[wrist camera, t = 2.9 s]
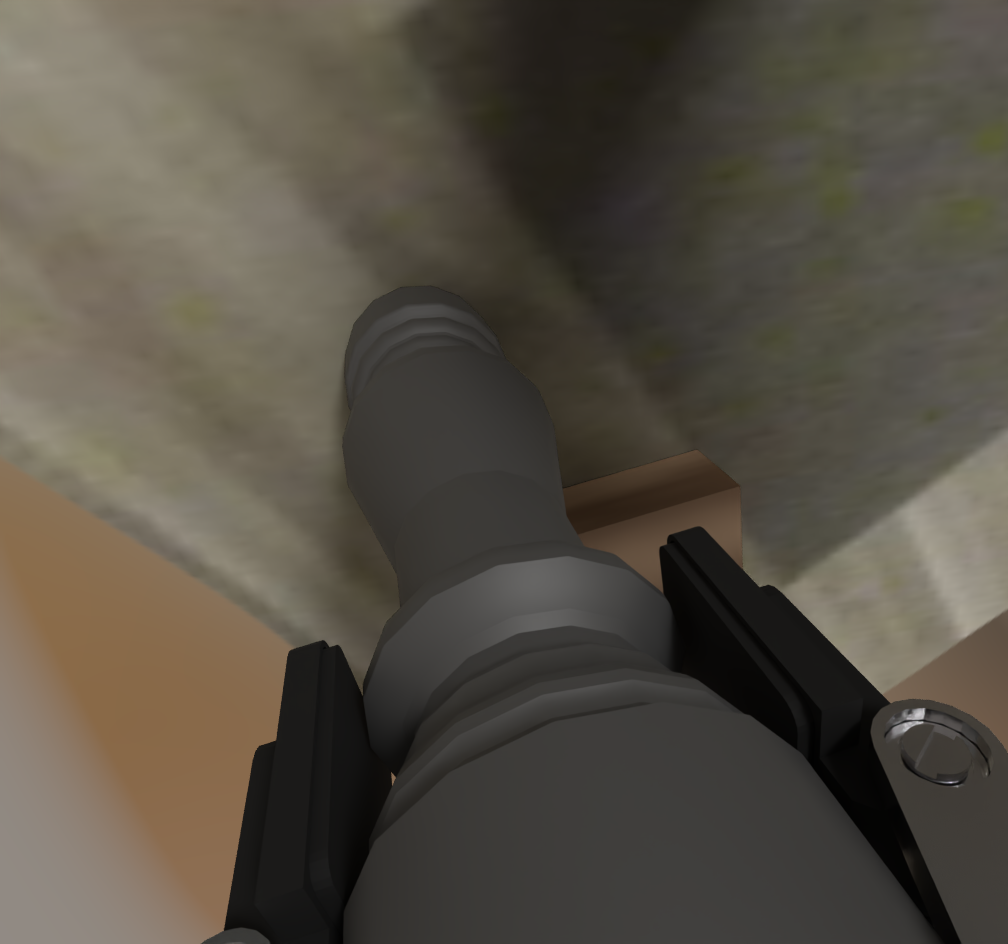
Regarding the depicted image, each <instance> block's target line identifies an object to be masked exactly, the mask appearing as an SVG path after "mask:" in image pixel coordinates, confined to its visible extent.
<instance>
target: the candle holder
mask: <svg viewBox="0 0 1008 944" xmlns="http://www.w3.org/2000/svg"><path fill="white" fill-rule="evenodd" d="M345 383H346V390H347V398H348V406H349V408H350V410H351V413H350V416H349V419H348V422H347V426H346V429H345V432H344V435H343V444H342V447H343V454H344V461H345V468H346V476H347V483H348V486H349V488H350V490H351V492H352V493H353V495H354V497H355V499H356V501H357V502H358V504H359V506H360V508H361V509H362V511H363V513H364V515H365V516H366V518H367V520H368V522H369V524H370V526H371V528H372V529H373V531H374V533H375V535H376V537H377V539H378V541H379V542H380V544H381V546H382V548H383V550H384V552H385V554H386V555H387V557H388V559H389V561H390V563H391V565H392V566H393V568H394V570H395V572H396V574H397V578H398V588H399V598H400V609H399V610H398V611H397V612H396V613H395V614H394V615H393V616H392V617H391V618H390V619H389V620H388V621H387V622H386V624H385V626H384V629H383V632H382V634H381V637H380V639H379V642H378V645H377V647H376V650H375V653H374V655H373V658H372V660H371V663H370V666H369V668H368V671H367V674H366V676H365V679H364V683H363V701H364V708H365V714H366V721H367V727H368V734H369V740H370V747H371V748H372V750H373V751H374V752H375V753H376V754H377V756H378V757H379V758H380V759H381V760H382V761H383V763H384V764H385V765H386V766H387V767H388V769H389V770H390V771H391V772H392V773H393V774H394V776H395V777H396V779H395V781H394V784H393V786H392V788H391V790H390V792H389V795H388V797H387V799H386V802H385V804H384V806H383V809H382V811H381V813H380V815H379V818H378V820H377V822H376V825H375V827H374V829H373V832H372V834H371V836H370V838H369V855H368V857H367V860H366V862H365V864H364V867H363V869H362V871H361V873H360V876H359V878H358V880H357V882H356V885H355V887H354V889H353V892H352V894H351V896H350V898H349V901H348V903H347V905H346V907H345V910H344V926H343V944H945V943H944V942H943V941H942V939H941V938H940V937H939V935H938V934H937V933H936V931H935V930H934V929H933V927H932V926H931V925H930V923H929V922H928V921H927V919H926V918H925V917H924V915H923V914H922V913H921V911H920V910H919V909H918V907H917V906H916V905H915V903H914V902H913V901H912V899H911V898H910V897H909V895H908V894H907V893H906V891H905V890H904V889H903V887H902V886H901V885H900V883H899V882H898V881H897V879H896V878H895V877H894V875H893V874H892V873H891V871H890V870H889V869H888V868H887V866H886V865H885V864H884V862H883V861H882V860H881V858H880V857H879V856H878V854H877V853H876V852H875V850H874V849H873V848H872V846H871V845H870V844H869V842H868V841H867V840H866V838H865V837H864V836H863V834H862V833H861V832H860V830H859V829H858V828H857V826H856V825H855V824H854V822H853V821H852V820H851V818H850V817H849V816H848V814H847V813H846V812H845V810H844V809H843V808H842V806H841V805H840V804H839V802H838V801H837V800H836V798H835V797H834V796H833V794H832V793H831V792H830V790H829V789H828V788H827V786H826V785H825V784H824V782H823V781H822V780H821V778H820V777H819V776H818V774H817V773H816V772H815V770H814V769H813V768H812V766H811V765H810V764H809V762H808V761H807V760H806V758H805V757H804V756H803V754H802V753H800V752H799V751H798V750H796V749H795V748H794V747H792V746H791V745H790V744H788V743H787V742H786V741H784V740H783V739H781V738H780V737H779V736H777V735H776V734H775V733H773V732H772V731H771V730H769V729H768V728H767V727H765V726H764V725H762V724H761V723H760V722H758V721H757V720H756V719H754V718H753V717H752V716H750V715H746V714H744V713H742V712H741V711H739V710H738V709H737V708H735V707H734V706H733V705H731V704H730V703H729V702H727V701H726V700H724V699H723V698H722V697H720V696H719V695H718V694H716V693H715V692H714V691H712V690H711V689H709V688H708V687H707V686H705V685H704V684H703V683H701V682H700V681H699V680H697V679H694V678H692V677H690V676H688V675H685V674H681V672H682V665H683V659H684V652H685V643H684V641H683V638H682V635H681V633H680V630H679V627H678V625H677V622H676V619H675V617H674V614H673V611H672V609H671V606H670V603H669V602H668V600H667V599H666V597H665V596H664V595H663V593H662V592H661V591H660V590H659V589H658V588H657V587H655V586H654V585H653V584H652V583H650V582H649V581H648V580H647V579H645V578H644V577H643V576H642V575H640V574H639V573H638V572H637V571H635V570H634V569H633V568H632V567H631V566H629V565H628V564H627V563H626V562H624V561H623V560H622V559H621V558H619V557H618V556H617V555H615V554H613V553H610V552H605V551H601V550H597V549H593V548H589V547H585V546H584V545H583V543H582V541H581V540H580V538H579V536H578V535H577V533H576V531H575V530H574V528H573V526H572V524H571V523H570V521H569V519H568V518H567V515H566V508H565V502H564V495H563V488H562V481H561V474H560V467H559V460H558V452H557V444H556V437H555V429H554V425H553V423H552V420H551V418H550V415H549V413H548V411H547V408H546V406H545V404H544V401H543V399H542V397H541V394H540V392H539V390H538V389H537V388H536V387H535V385H534V384H533V383H532V382H530V381H529V380H528V379H527V378H526V377H525V376H524V375H523V374H522V373H521V372H520V371H518V370H517V369H516V368H515V367H514V366H513V365H512V364H511V363H510V362H509V361H507V360H506V357H505V355H504V353H503V351H502V348H501V346H500V344H499V341H498V339H497V337H496V335H495V333H494V332H493V331H492V330H491V329H490V327H489V326H488V325H487V324H486V322H485V321H484V320H483V319H482V317H481V316H480V315H479V314H478V313H477V312H476V311H475V310H474V309H472V308H471V307H470V306H469V305H468V304H467V303H466V302H465V301H464V300H463V299H462V298H461V297H460V296H457V295H455V294H452V293H449V292H447V291H444V290H441V289H438V288H436V287H433V286H418V287H400V288H398V289H396V290H394V291H392V292H390V293H388V294H386V295H384V296H382V297H380V298H378V299H376V300H374V301H373V302H372V303H371V304H370V305H369V306H368V308H367V309H366V310H365V311H364V312H363V314H362V315H361V316H360V317H359V318H358V319H357V321H356V322H355V323H354V325H353V329H352V332H351V335H350V339H349V342H348V345H347V349H346V355H345Z"/></svg>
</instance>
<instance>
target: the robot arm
mask: <svg viewBox="0 0 1008 944" xmlns="http://www.w3.org/2000/svg"><path fill="white" fill-rule="evenodd" d="M659 557H660V566H661V575H662V585H663V594H664V596H665V597H666V599H667V600H668V602H669V603H670V606H671V609H672V611H673V614H674V617H675V619H676V622H677V625H678V627H679V630H680V633H681V635H682V638H683V641H684V643H685V652H684V659H683V665H682V672H681V674H685V675H688V676H690V677H692V678H694V679H697V680H699V681H700V682H701V683H703V684H704V685H705V686H707V687H708V688H709V689H711V690H712V691H714V692H715V693H716V694H718V695H719V696H720V697H722V698H723V699H724V700H726V701H727V702H729V703H730V704H731V705H733V706H734V707H735V708H737V709H738V710H739V711H741V712H742V713H744V714H746V715H750V716H752V717H753V718H754V719H756V720H757V721H758V722H760V723H761V724H762V725H764V726H765V727H767V728H768V729H769V730H771V731H772V732H773V733H775V734H776V735H777V736H779V737H780V738H781V739H783V740H784V741H786V742H787V743H788V744H790V745H791V746H792V747H794V748H795V749H796V750H798V751H799V752H800V753H802V754H803V756H804V757H805V758H806V760H807V761H808V762H809V764H810V765H811V766H812V768H813V769H814V770H815V772H816V773H817V774H818V776H819V777H820V778H821V780H822V781H823V782H824V784H825V785H826V786H827V788H828V789H829V790H830V792H831V793H832V794H833V796H834V797H835V798H836V800H837V801H838V802H839V804H840V805H841V806H842V808H843V809H844V810H845V812H846V813H847V814H848V816H849V817H850V818H851V820H852V821H853V822H854V824H855V825H856V826H857V828H858V829H859V830H860V832H861V833H862V834H863V836H864V837H865V838H866V840H867V841H868V842H869V844H870V845H871V846H872V848H873V849H874V850H875V852H876V853H877V854H878V856H879V857H880V858H881V860H882V861H883V862H884V864H885V865H886V866H887V868H888V869H889V870H890V871H891V873H892V874H893V875H894V877H895V878H896V879H897V881H898V882H899V883H900V885H901V886H902V887H903V889H904V890H905V891H906V893H907V894H908V895H909V897H910V898H911V899H912V901H913V902H914V903H915V905H916V906H917V907H918V909H919V910H920V911H921V913H922V914H923V915H924V917H925V918H926V919H927V921H928V922H929V923H930V925H931V926H932V927H933V929H934V930H935V931H936V933H937V934H938V935H939V937H940V938H941V939H942V941H943V942H944V943H945V944H1008V753H1007V751H1006V749H1005V748H1004V746H1003V745H1002V743H1000V741H999V740H998V739H997V737H996V736H995V735H994V734H993V733H992V732H991V731H990V729H989V728H988V727H986V726H985V725H983V724H982V723H981V722H979V721H978V720H977V719H975V718H974V717H973V716H971V715H970V714H967V713H965V712H963V711H961V710H959V709H957V708H955V707H953V706H950V705H947V704H943V703H939V702H935V701H932V700H921V699H908V700H902V701H896V702H893V703H890V702H889V701H888V700H887V699H886V698H885V697H884V696H883V695H882V694H881V693H880V692H879V691H878V690H877V689H876V688H875V687H874V686H873V685H872V684H871V683H870V682H869V681H868V680H867V679H866V678H865V677H864V676H863V675H862V674H861V673H860V672H859V671H858V670H857V669H856V668H855V667H854V666H853V665H852V664H851V663H850V662H849V661H848V660H847V659H846V658H845V657H844V656H843V655H842V654H841V653H840V652H839V651H838V650H837V648H836V647H835V646H834V645H833V644H832V643H831V642H830V641H829V640H828V639H827V638H826V637H825V636H824V635H823V634H822V633H821V632H820V631H819V630H818V629H817V628H816V627H815V626H814V625H813V624H812V623H811V622H810V621H809V620H808V619H807V618H806V617H805V616H804V615H803V614H802V613H801V612H800V611H799V610H798V609H797V608H796V607H795V606H794V605H793V604H792V603H791V602H790V601H789V600H788V599H787V598H786V597H785V596H784V595H783V594H782V593H781V592H780V591H779V590H778V589H776V588H775V587H773V586H770V585H766V586H763V587H759V586H758V585H757V584H756V583H755V582H754V581H753V580H752V579H751V578H750V577H749V576H748V575H747V574H746V573H745V571H744V570H743V569H742V568H741V567H740V566H739V565H738V564H737V563H736V562H735V561H734V560H733V559H732V558H731V557H730V556H729V555H728V553H727V552H726V551H725V550H724V549H723V548H722V547H721V546H720V545H719V544H718V543H717V542H716V541H715V540H714V539H713V538H712V537H711V535H710V534H709V533H708V532H707V531H706V530H705V529H704V528H702V527H701V526H697V527H693V528H690V529H687V530H683V531H680V532H677V533H674V534H670V535H669V536H668V538H667V544H666V545H663V546H661V547H660V548H659ZM391 788H392V778H391V771H390V770H389V769H388V767H387V766H386V765H385V764H384V763H383V761H382V760H381V759H380V758H379V757H378V756H377V754H376V753H375V752H374V751H373V750H372V748H371V747H370V740H369V734H368V727H367V721H366V714H365V708H364V701H363V696H362V694H361V691H360V689H359V687H358V685H357V682H356V680H355V678H354V676H353V674H352V671H351V669H350V667H349V665H348V662H347V660H346V658H345V656H344V653H343V651H342V649H341V647H340V646H339V645H336V646H332V647H329V646H328V644H327V643H326V642H325V641H324V640H322V641H319V642H315V643H312V644H309V645H305V646H302V647H299V648H296V649H292V650H290V651H289V653H288V657H287V664H286V672H285V679H284V686H283V694H282V701H281V709H280V716H279V723H278V731H277V739H276V741H274V742H270V743H268V744H264V745H261V746H259V747H258V748H257V750H256V752H255V755H254V758H253V763H252V768H251V775H250V781H249V786H248V792H247V798H246V803H245V810H244V815H243V821H242V827H241V834H240V839H239V845H238V851H237V857H236V862H235V868H234V874H233V881H232V886H231V892H230V898H229V904H228V910H227V916H226V922H225V928H224V931H222V932H220V933H219V934H217V935H215V936H213V937H211V938H209V939H207V940H205V941H204V942H203V943H201V944H343V926H344V910H345V907H346V905H347V903H348V901H349V898H350V896H351V894H352V892H353V889H354V887H355V885H356V882H357V880H358V878H359V876H360V873H361V871H362V869H363V867H364V864H365V862H366V860H367V857H368V855H369V838H370V836H371V834H372V832H373V829H374V827H375V825H376V822H377V820H378V818H379V815H380V813H381V811H382V809H383V806H384V804H385V802H386V799H387V797H388V795H389V792H390V790H391Z"/></svg>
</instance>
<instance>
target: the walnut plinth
mask: <svg viewBox="0 0 1008 944" xmlns="http://www.w3.org/2000/svg"><path fill="white" fill-rule="evenodd" d="M563 495H564V502H565V508H566V515H567V518H568V519H569V521H570V523H571V524H572V526H573V528H574V530H575V531H576V533H577V535H578V536H579V538H580V540H581V541H582V543H583V545H584V546H585V547H589V548H593V549H597V550H601V551H605V552H610V553H613V554H615V555H617V556H618V557H619V558H621V559H622V560H623V561H624V562H626V563H627V564H628V565H629V566H631V567H632V568H633V569H634V570H635V571H637V572H638V573H639V574H640V575H642V576H643V577H644V578H645V579H647V580H648V581H649V582H650V583H652V584H653V585H654V586H655V587H657V588H658V589H659V590H660V591H661V592H662V593H663V585H662V575H661V566H660V557H659V548H660V547H661V546H663V545H666V544H667V538H668V536H669V535H670V534H674V533H677V532H680V531H683V530H687V529H690V528H693V527H697V526H701V527H702V528H704V529H705V530H706V531H707V532H708V533H709V534H710V535H711V537H712V538H713V539H714V540H715V541H716V542H717V543H718V544H719V545H720V546H721V547H722V548H723V549H724V550H725V551H726V552H727V553H728V555H729V556H730V557H731V558H732V559H733V560H734V561H735V562H736V563H737V564H738V565H739V566H740V567H741V568H742V569H743V564H742V530H741V495H740V485H739V484H737V483H736V482H735V481H734V480H733V479H732V478H730V477H729V476H728V475H727V474H726V473H724V472H723V471H722V470H721V469H720V468H719V467H717V466H716V465H715V464H714V463H713V462H711V461H710V460H709V459H708V458H707V457H706V456H704V455H703V454H702V453H701V452H700V451H698V450H694V451H690V452H687V453H683V454H680V455H676V456H673V457H670V458H666V459H663V460H659V461H656V462H652V463H649V464H646V465H642V466H639V467H635V468H632V469H629V470H625V471H622V472H618V473H615V474H611V475H608V476H605V477H601V478H598V479H594V480H591V481H587V482H584V483H581V484H577V485H574V486H570V487H567V488H564V489H563ZM663 595H664V594H663Z"/></svg>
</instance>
